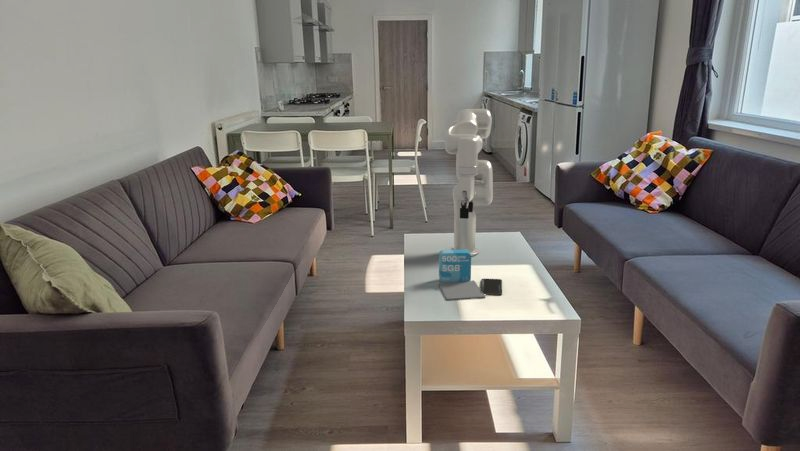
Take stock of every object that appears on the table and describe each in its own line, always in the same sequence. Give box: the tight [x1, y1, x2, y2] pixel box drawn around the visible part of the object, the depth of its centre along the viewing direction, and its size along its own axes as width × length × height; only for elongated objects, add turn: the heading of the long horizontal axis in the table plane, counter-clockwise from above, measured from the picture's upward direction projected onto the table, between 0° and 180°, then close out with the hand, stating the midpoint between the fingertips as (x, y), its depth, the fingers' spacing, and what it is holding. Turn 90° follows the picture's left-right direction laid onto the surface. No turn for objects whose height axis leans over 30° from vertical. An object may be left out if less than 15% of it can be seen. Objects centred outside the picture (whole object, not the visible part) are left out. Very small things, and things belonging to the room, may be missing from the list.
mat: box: [437, 280, 486, 301], centre depth 201 cm, size 16×14×1 cm
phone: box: [480, 278, 503, 296], centre depth 204 cm, size 8×1×15 cm
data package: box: [438, 249, 472, 283], centre depth 211 cm, size 12×4×12 cm, turn 90°
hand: (466, 215), depth 207 cm, fingers open, 9 cm apart
